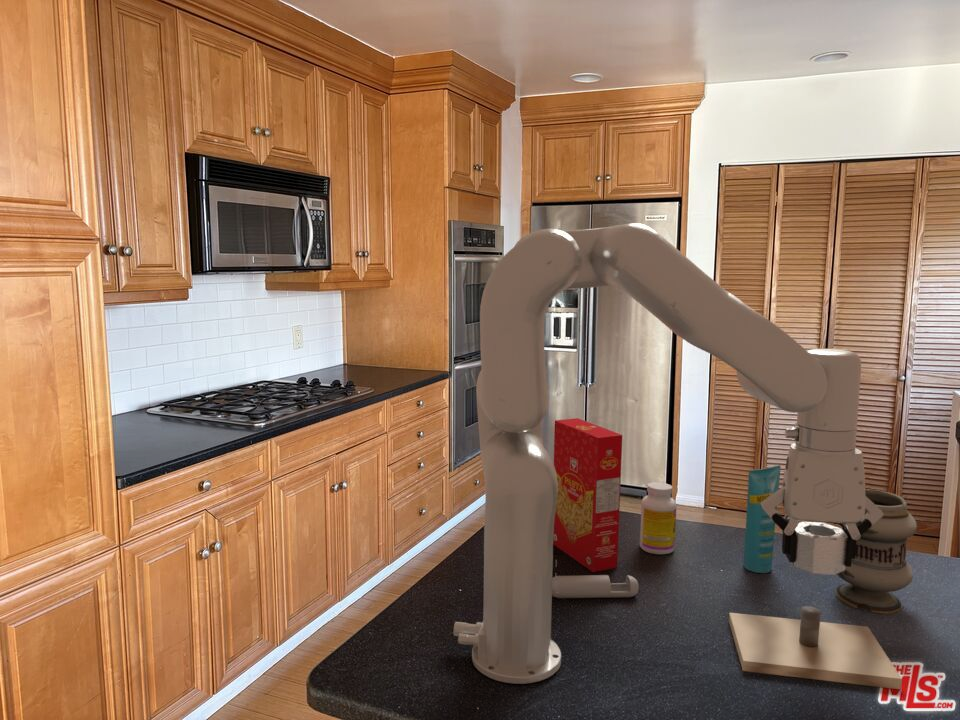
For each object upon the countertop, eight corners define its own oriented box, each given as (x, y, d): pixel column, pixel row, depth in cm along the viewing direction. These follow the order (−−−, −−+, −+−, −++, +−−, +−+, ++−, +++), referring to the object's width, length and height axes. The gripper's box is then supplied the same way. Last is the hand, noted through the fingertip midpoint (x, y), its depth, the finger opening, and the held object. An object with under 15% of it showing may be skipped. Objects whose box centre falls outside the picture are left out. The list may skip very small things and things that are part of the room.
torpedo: (633, 589, 125) (635, 553, 124) (641, 602, 120) (643, 565, 119) (530, 591, 124) (530, 554, 123) (533, 604, 119) (534, 566, 118)
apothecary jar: (826, 606, 119) (835, 501, 116) (829, 578, 129) (837, 481, 127) (911, 624, 113) (922, 514, 111) (907, 593, 124) (917, 492, 121)
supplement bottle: (678, 556, 138) (681, 491, 136) (643, 555, 138) (646, 491, 136) (669, 542, 145) (672, 480, 143) (636, 542, 145) (639, 480, 143)
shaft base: (742, 670, 100) (745, 626, 99) (728, 621, 113) (731, 582, 112) (900, 689, 96) (905, 643, 95) (867, 636, 109) (870, 595, 109)
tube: (754, 577, 129) (761, 473, 127) (733, 567, 133) (739, 466, 131) (782, 568, 133) (789, 467, 130) (760, 559, 137) (766, 461, 134)
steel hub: (797, 572, 100) (799, 537, 99) (787, 552, 107) (789, 520, 106) (849, 576, 99) (851, 541, 98) (835, 556, 105) (838, 523, 105)
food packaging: (551, 542, 144) (554, 420, 140) (574, 538, 146) (577, 418, 143) (593, 572, 131) (597, 437, 127) (617, 567, 133) (622, 434, 129)
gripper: (764, 442, 98) (757, 567, 101) (904, 448, 95) (893, 577, 97) (754, 429, 105) (748, 546, 108) (884, 434, 102) (875, 555, 105)
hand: (817, 559), depth 103 cm, fingers closed on steel hub, 6 cm apart
